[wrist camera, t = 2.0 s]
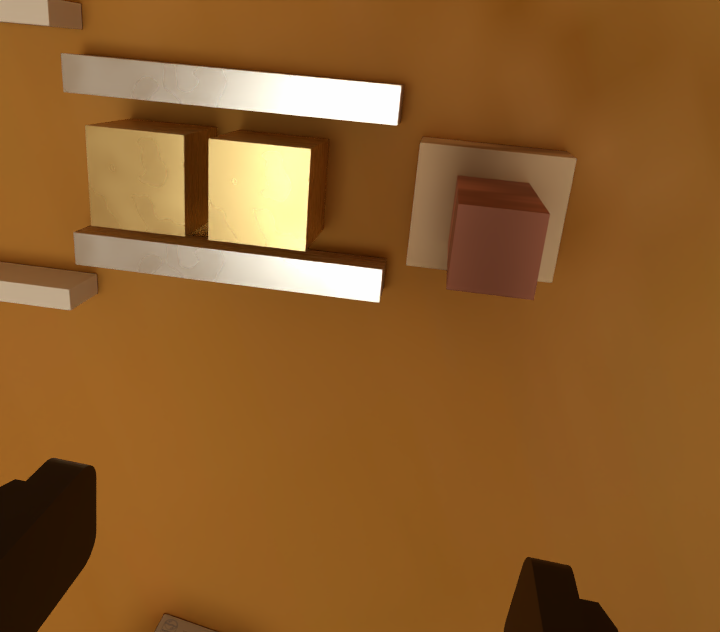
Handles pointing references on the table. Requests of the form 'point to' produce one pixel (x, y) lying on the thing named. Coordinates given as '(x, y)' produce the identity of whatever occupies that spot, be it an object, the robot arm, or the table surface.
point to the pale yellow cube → (267, 189)
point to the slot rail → (242, 93)
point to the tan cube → (148, 175)
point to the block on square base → (489, 214)
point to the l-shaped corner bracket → (32, 283)
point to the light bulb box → (178, 625)
